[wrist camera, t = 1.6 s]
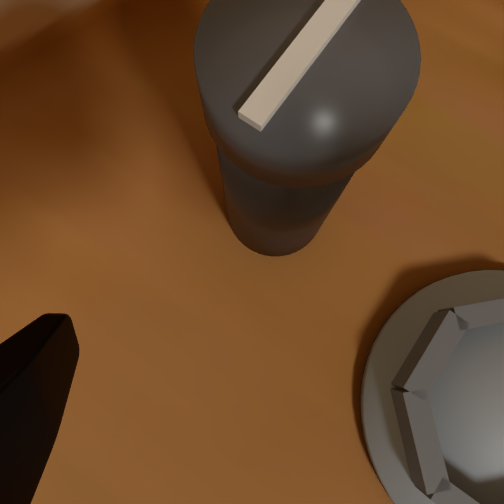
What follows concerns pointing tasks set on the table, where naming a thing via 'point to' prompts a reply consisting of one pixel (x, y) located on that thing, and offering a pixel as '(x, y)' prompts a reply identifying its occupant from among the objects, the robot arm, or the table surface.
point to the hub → (439, 394)
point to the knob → (299, 104)
